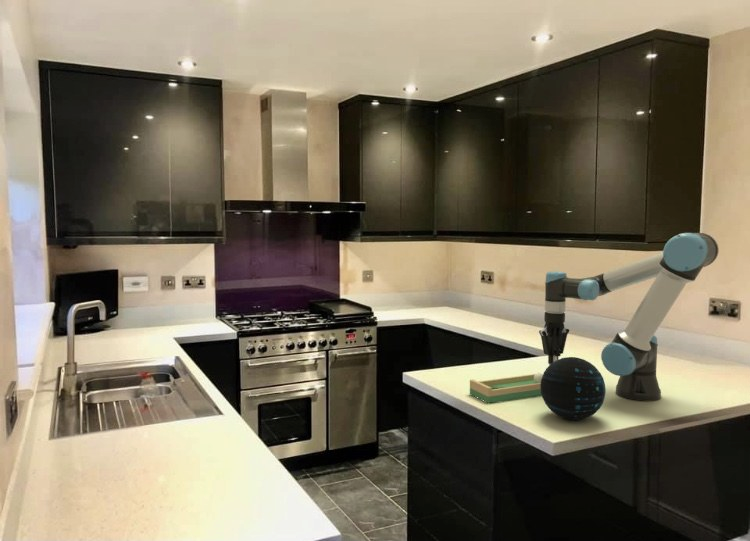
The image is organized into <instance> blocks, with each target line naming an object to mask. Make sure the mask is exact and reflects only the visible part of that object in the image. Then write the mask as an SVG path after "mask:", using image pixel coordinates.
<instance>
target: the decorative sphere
mask: <svg viewBox="0 0 750 541" xmlns="http://www.w3.org/2000/svg"><path fill="white" fill-rule="evenodd" d="M542 374H543V376H542V379H541V385H540V388H541V394H542V395H541V397H542V400H543V402H544V404H545V405H546V406H547V407H548V409H549V410H550V411H551V412H552V413H554V414H555V415H556V416H558V417H561V419H565V420H570V421H581V420H584V419H587V418H589V417H592V416H593V415H595V414H596V413H597V412H598V411H599V410H600V409H601V408H602V406H603V405H604V401H605V398H606V393H607V392H606V390H607V389H606V384H605V379H604V376H603V375H602V373H601V372H600V371H599V369H598V368H597V367H596V366H595V365H594V364H592V363H591V362H589V361H588V360H586V359H584V358H581V357H576V356H575V357H574V356H567V357H566V356H565V357H561V358H558V360H556V361H555V362H553V363H552V364H550V365H549V364H548V366H547V367H546V368H545V370H544V371H543V373H542Z"/></svg>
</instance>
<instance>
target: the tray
mask: <svg viewBox="0 0 750 541" xmlns="http://www.w3.org/2000/svg"><path fill="white" fill-rule="evenodd" d="M535 374H536V373H531V374H524V375H517V376H509V377H500V378H494V379H486V380H479V381H478V380H477V379H476V380H475V379H470V380H469V395H470V394H472V395H474V396H476V397H478V398H480V399H482V400H484V401H486V402H488V403H489V404H491V403H490V402H495V403H500V402H499V401H502V402H507V401H506V400H508V401H513V400H514V399H515V400H521V398H522V399H527V398H533V397H542V394H541V388H540V385H541V383H536V382H535V381H534V375H535ZM472 395H471V396H472ZM474 396H473V397H474ZM476 397H475V398H476ZM478 398H477V399H478ZM480 399H479V400H480ZM482 400H481V401H482ZM515 400H514V401H515ZM484 401H483V402H484ZM486 402H485V403H486ZM488 403H487V404H488Z"/></svg>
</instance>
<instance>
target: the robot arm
mask: <svg viewBox="0 0 750 541" xmlns="http://www.w3.org/2000/svg"><path fill="white" fill-rule="evenodd" d="M718 256H719V244H718V243H717V241H716V240H715V238H713V236H711V235H709V234H707V233H704V232H683V233H679V234H677V235H674V236H673V237H672V238H670V239H669V240H667V242H666V243H665V245H664V247H663V251H662V252H660V253H656V254H653V255H651V256H648V257H646V258H643V259H639V260H637V261H634V262H631V263H629V264H626V265H622V266H620V267H617V268H614V269H612V270H608V271H606V272H603V273H601V274H597V275H595V276H591V277H582V278H575V277H574V278H571V277H568V276H567V272H565V271H560V270H559V271H557V270H555V271H554V270H553V271H548V272H546V275H545V282H544V284H545V287H544V288H545V292H544V293H545V295H544V297H545V298H544V311H545V312H544V323H545V324H544V328H543V329H542V330H541V329H540V330H538V333H539V335H540V339H541V344H542V351H543V355H546V356H548V357H547V359H548V360H547V364H548V366H549V365H550V364H552V363H553V362H555V361H556V360H559V359H560V357H561V356H562V355H563V354H564V351H565V347H566V342H567V338H568V334H569V332H570V329H569V328H566V327H565V324H564V323H565V321H566V313H565V312H566V302H567V301H566V299H576V300H582V301H595V300H597V298H598V297H602V296H604V295H606V294H608V293H609V294H610V293H612V292H615V291H617V290H620V289H623V288H628V287H630V286H632V285H635V284H636V285H637V284H639V283H641V282H646V281H647V280H651V279H654V281H653V283H652V284H651V286H650V288H649V289H648V291H647V292H646V294H645V295H644V297H643V299H642V300H641V302H640V303H639V306H637V309H636V310H635V312H634V314H633V315H632V317H631V318H630V321H629V322H628V324H627V326H626V327H625V328H623V329H620V330H619V329H618V331H617V333H616V334H615V336H614V338H613V340H612V341H611V342H610V343H607V344H606V345H605V346H604V347H603V349H602V350H601V355H600V358H601V361H602V365H603V366H604V368H605V369H606V370H607V371H608V372H609V373H610V374H612V375H615V376H618V381H617V383H616V386H615V394H616V395H617V396H619V397H622V398H625V399H629V400H634V401H635V400H636V401H643V402H647V401H649V402H650V401H657V400H660V399H661V398H662V390H661V389H660V384H659V381H658V378H657V361H658V359H657V358H658V346H659V345H658V338H657V336H656V335H655V333H656V332H657V330H658V329H659V327H660V325H661V324H662V323H663V321H664V319H665V318H666V317H667V315H668V313H669V311H670V310H671V308H672V307H673V305H674V304H675V302H676V300H677V299H678V298H679V296H680V295H681V293H682V292H683V289H684V288H685V286H686V284H689V283H691V282H692V283H693V282H695V281H696V279H697V277H698V276H699V274H700V272H701V271H702V270H703V268H706V267H709V266H710V265H712V264H713V263H714V262H715V260H716V259H717V257H718Z"/></svg>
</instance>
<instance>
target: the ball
mask: <svg viewBox="0 0 750 541" xmlns="http://www.w3.org/2000/svg"><path fill="white" fill-rule="evenodd" d="M534 374H535V375H534V381H535V382H536V383H541V379H542V376H543V373H540V372H537V373H534Z"/></svg>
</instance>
